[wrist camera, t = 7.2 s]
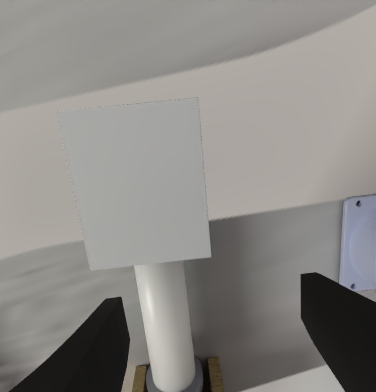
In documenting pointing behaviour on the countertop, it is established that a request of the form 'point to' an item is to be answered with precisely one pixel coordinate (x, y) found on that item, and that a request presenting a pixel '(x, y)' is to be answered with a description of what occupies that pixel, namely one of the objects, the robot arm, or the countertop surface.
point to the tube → (168, 328)
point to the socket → (214, 374)
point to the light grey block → (138, 182)
